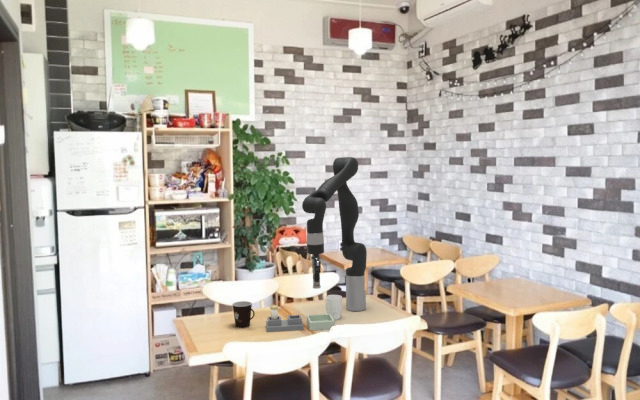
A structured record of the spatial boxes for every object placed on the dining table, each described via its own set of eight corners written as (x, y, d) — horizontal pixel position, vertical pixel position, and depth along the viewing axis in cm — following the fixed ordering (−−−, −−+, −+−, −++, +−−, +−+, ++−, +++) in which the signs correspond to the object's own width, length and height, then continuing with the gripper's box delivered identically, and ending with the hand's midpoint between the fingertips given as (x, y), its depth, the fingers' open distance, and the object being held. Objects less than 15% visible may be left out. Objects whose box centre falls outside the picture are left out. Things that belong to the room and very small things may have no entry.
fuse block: (301, 323, 238) (301, 313, 237) (303, 329, 229) (303, 319, 228) (266, 325, 235) (265, 315, 235) (267, 332, 226) (266, 321, 226)
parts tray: (330, 321, 240) (330, 313, 240) (334, 328, 229) (334, 321, 229) (306, 322, 239) (306, 315, 238) (309, 330, 228) (309, 322, 227)
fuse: (277, 322, 233) (277, 304, 232) (278, 324, 230) (278, 307, 229) (270, 322, 233) (269, 305, 232) (270, 325, 229) (270, 307, 229)
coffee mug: (231, 324, 238) (230, 302, 237) (249, 321, 241) (248, 300, 240) (237, 331, 227) (236, 309, 226) (256, 329, 231) (256, 306, 230)
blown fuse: (320, 286, 235) (319, 268, 234) (321, 288, 231) (320, 270, 231) (312, 286, 234) (311, 269, 233) (313, 288, 231) (312, 271, 230)
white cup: (345, 317, 246) (345, 296, 245) (334, 321, 240) (334, 300, 239) (333, 314, 251) (332, 293, 250) (322, 318, 245) (321, 297, 244)
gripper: (326, 244, 224) (327, 284, 226) (321, 239, 238) (322, 276, 240) (308, 245, 223) (310, 285, 225) (305, 240, 237) (306, 277, 239)
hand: (316, 280), depth 233 cm, fingers closed on blown fuse, 3 cm apart
